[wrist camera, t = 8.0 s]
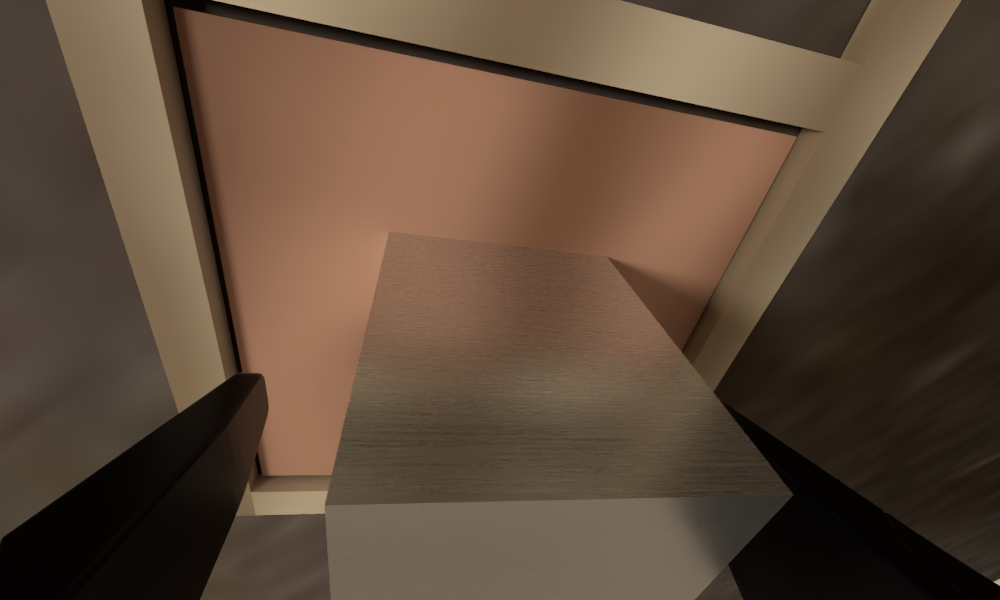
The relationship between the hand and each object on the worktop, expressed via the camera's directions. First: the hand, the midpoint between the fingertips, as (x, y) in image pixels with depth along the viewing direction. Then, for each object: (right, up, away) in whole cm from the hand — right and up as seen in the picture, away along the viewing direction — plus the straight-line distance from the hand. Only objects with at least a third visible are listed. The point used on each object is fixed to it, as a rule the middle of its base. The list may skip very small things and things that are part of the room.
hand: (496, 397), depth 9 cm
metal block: (0, +1, +2) cm, 2 cm away
